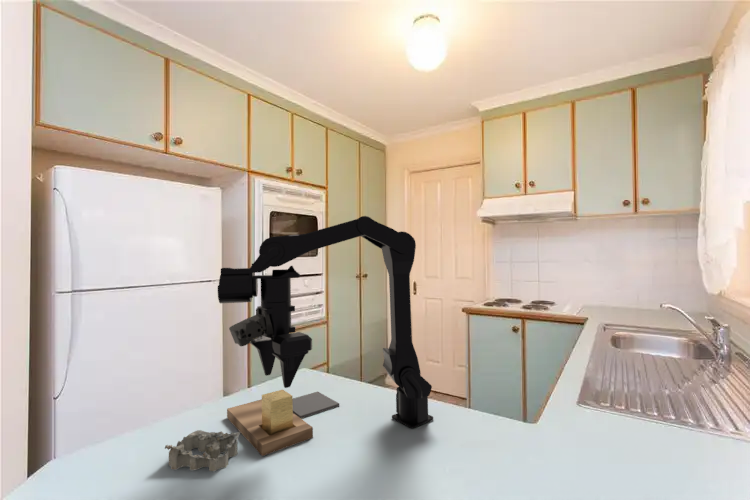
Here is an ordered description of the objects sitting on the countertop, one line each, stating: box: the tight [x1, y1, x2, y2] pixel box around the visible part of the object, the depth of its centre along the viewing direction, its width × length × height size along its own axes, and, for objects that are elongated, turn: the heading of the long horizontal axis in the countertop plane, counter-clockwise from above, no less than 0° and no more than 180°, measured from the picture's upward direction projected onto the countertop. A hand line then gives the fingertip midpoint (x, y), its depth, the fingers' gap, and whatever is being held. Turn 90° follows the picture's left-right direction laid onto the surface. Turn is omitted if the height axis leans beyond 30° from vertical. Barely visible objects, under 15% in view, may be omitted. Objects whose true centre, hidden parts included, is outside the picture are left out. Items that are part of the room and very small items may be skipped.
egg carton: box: [164, 429, 241, 472], centre depth 63 cm, size 11×8×4 cm
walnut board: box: [226, 398, 314, 457], centre depth 74 cm, size 20×10×2 cm, turn 39°
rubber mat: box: [292, 391, 340, 419], centre depth 85 cm, size 10×10×1 cm
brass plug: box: [261, 389, 294, 436], centre depth 70 cm, size 4×4×8 cm
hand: (277, 380), depth 71 cm, fingers open, 9 cm apart
